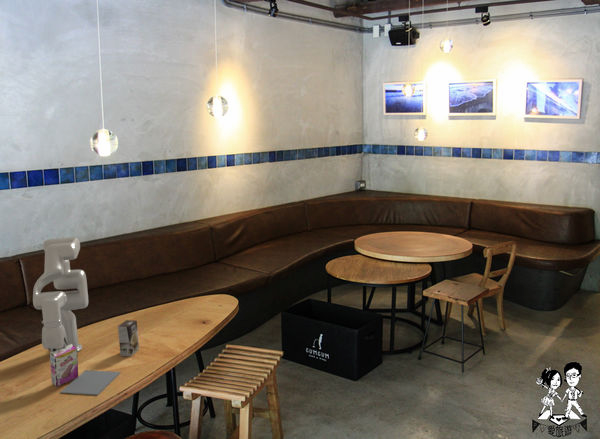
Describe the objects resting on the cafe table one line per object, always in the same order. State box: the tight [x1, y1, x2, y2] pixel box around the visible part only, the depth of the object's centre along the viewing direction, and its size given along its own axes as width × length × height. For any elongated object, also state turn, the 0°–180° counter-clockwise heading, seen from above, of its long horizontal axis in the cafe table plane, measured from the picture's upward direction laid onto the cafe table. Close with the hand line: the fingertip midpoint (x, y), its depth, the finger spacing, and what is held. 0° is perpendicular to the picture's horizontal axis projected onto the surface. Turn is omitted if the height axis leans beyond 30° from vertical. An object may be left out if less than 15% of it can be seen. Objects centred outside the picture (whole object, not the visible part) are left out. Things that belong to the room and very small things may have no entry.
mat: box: [59, 369, 121, 396], centre depth 273 cm, size 18×22×1 cm
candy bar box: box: [49, 344, 79, 388], centre depth 272 cm, size 11×5×16 cm, turn 140°
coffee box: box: [117, 319, 140, 357], centre depth 304 cm, size 9×6×16 cm
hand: (57, 360), depth 274 cm, fingers closed
